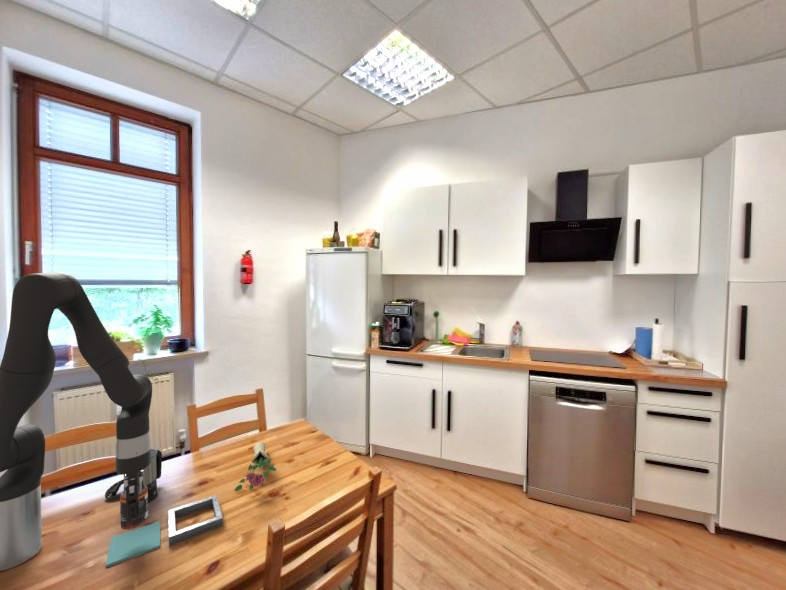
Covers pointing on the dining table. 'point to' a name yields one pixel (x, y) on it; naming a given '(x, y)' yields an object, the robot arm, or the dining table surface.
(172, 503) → the dining table surface
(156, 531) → the teal mat
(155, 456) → the milk frother
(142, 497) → the supplement bottle
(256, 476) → the flower vase
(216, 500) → the grey square frame
